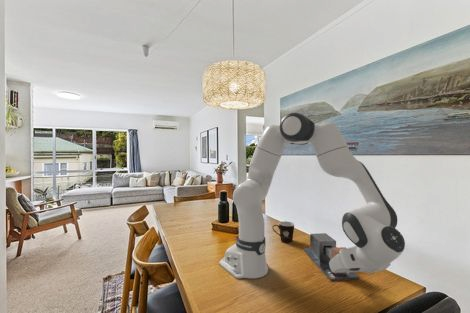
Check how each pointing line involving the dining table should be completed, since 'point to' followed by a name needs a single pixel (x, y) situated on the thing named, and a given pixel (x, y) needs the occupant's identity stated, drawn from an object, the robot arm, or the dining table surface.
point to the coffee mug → (285, 231)
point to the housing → (325, 256)
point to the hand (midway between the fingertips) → (350, 271)
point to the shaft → (332, 251)
